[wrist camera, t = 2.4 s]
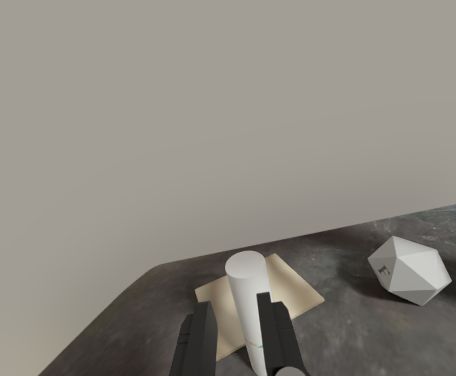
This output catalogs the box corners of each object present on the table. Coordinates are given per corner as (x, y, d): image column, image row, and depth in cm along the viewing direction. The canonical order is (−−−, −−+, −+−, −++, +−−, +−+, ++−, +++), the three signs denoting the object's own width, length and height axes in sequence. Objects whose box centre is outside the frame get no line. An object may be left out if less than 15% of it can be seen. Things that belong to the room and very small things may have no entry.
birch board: (275, 254, 46) (275, 253, 46) (324, 301, 33) (324, 299, 33) (195, 291, 41) (194, 289, 41) (216, 361, 28) (215, 359, 28)
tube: (247, 374, 26) (219, 276, 22) (254, 339, 30) (232, 250, 25) (282, 383, 25) (260, 280, 20) (286, 346, 28) (268, 251, 24)
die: (371, 267, 38) (350, 245, 33) (424, 245, 35) (408, 217, 30) (404, 317, 32) (383, 300, 27) (472, 296, 29) (462, 272, 24)
